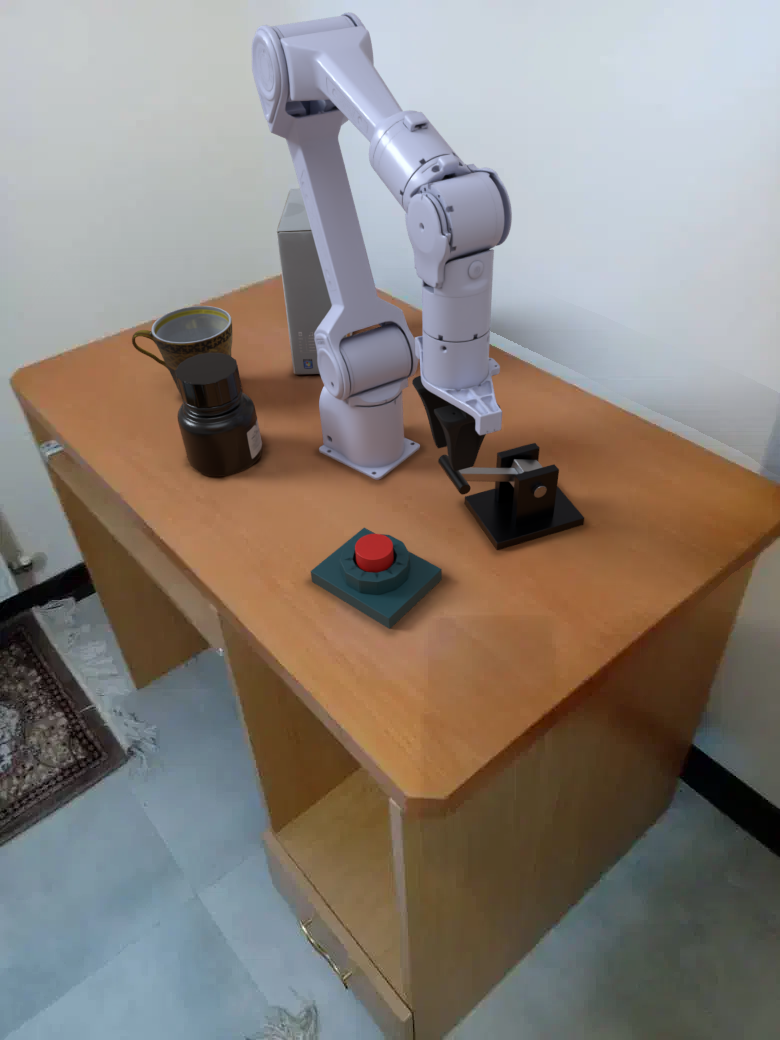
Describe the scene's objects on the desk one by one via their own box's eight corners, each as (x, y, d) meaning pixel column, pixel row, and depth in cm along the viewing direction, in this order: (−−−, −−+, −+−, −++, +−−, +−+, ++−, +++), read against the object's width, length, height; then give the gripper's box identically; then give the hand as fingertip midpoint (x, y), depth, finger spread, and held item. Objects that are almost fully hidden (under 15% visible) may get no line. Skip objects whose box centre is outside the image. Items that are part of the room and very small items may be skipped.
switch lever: (455, 499, 76) (463, 479, 74) (434, 469, 79) (441, 449, 78) (545, 499, 80) (554, 480, 79) (521, 470, 84) (529, 451, 82)
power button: (348, 562, 76) (347, 548, 74) (373, 541, 78) (371, 528, 76) (377, 578, 74) (376, 565, 73) (401, 557, 76) (400, 543, 75)
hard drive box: (349, 375, 107) (336, 229, 94) (293, 377, 107) (273, 232, 94) (354, 321, 119) (344, 184, 106) (304, 322, 119) (287, 186, 106)
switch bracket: (496, 552, 80) (500, 496, 75) (464, 505, 86) (465, 451, 81) (583, 526, 83) (592, 471, 78) (546, 482, 88) (552, 428, 83)
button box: (312, 583, 78) (308, 557, 76) (365, 539, 83) (363, 513, 80) (389, 630, 73) (388, 605, 71) (441, 581, 78) (441, 555, 75)
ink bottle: (277, 462, 93) (262, 373, 85) (208, 490, 90) (185, 400, 82) (242, 424, 99) (225, 338, 91) (176, 449, 96) (152, 362, 88)
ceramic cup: (248, 370, 109) (235, 303, 103) (240, 410, 102) (226, 341, 95) (154, 375, 109) (136, 308, 103) (139, 416, 102) (118, 346, 95)
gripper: (540, 355, 62) (527, 489, 71) (464, 282, 73) (461, 407, 82) (458, 375, 61) (455, 509, 70) (392, 297, 71) (397, 423, 80)
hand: (454, 455), depth 76 cm, fingers open, 3 cm apart
